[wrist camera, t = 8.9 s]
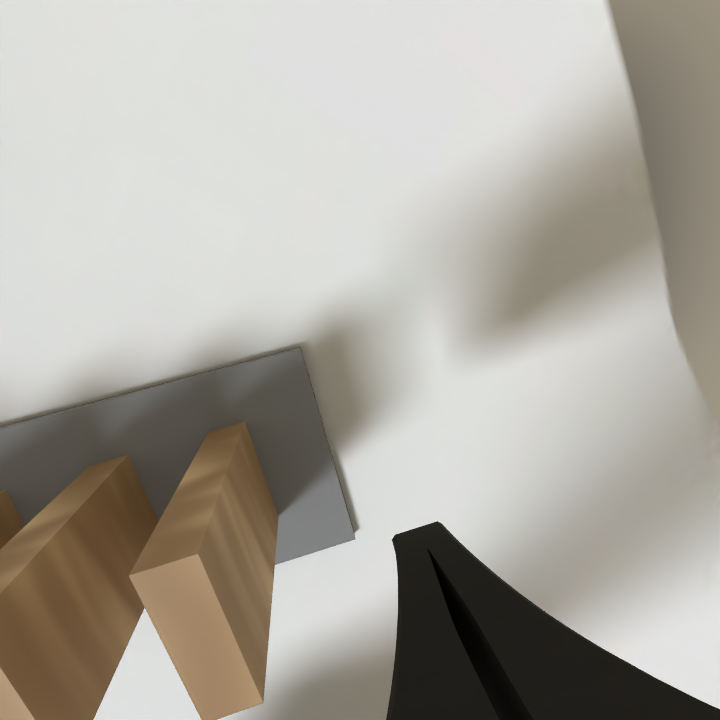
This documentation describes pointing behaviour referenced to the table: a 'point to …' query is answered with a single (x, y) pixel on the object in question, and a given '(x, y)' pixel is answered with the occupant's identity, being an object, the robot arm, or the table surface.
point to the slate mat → (193, 445)
